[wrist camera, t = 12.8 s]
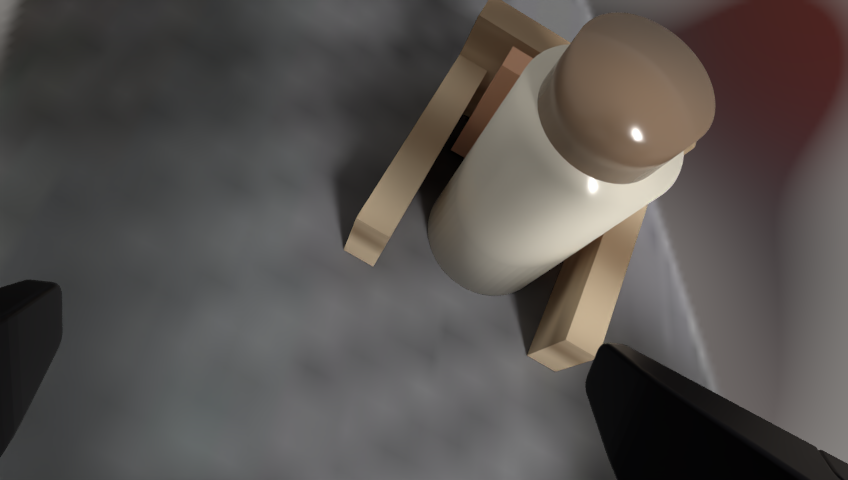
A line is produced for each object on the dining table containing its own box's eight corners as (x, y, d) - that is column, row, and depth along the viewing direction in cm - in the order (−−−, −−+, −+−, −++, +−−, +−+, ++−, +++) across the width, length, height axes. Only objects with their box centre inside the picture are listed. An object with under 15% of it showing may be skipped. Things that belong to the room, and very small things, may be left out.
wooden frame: (555, 371, 25) (636, 346, 19) (343, 249, 24) (367, 188, 19) (622, 184, 30) (701, 123, 25) (449, 80, 29) (492, -6, 24)
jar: (480, 320, 25) (653, 208, 14) (402, 216, 26) (508, 33, 15) (566, 254, 27) (769, 115, 16) (493, 161, 28) (640, -29, 17)
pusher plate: (572, 222, 28) (655, 158, 22) (450, 149, 27) (502, 65, 22) (580, 204, 28) (662, 137, 22) (460, 133, 28) (513, 46, 22)
